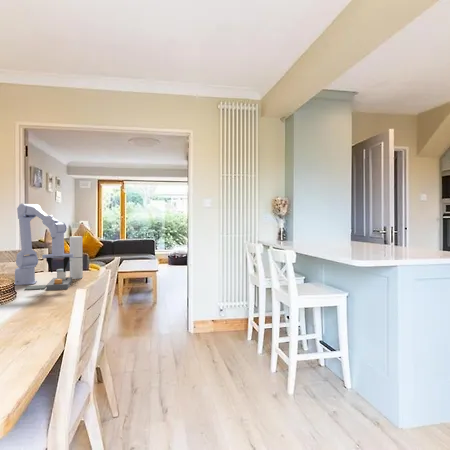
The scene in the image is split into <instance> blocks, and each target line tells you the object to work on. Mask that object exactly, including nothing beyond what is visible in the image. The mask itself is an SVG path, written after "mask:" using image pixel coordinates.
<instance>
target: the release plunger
mask: <svg viewBox="0 0 450 450" xmlns="http://www.w3.org/2000/svg"><path fill="white" fill-rule="evenodd" d="M54 284H62V279H55V280H54Z"/></svg>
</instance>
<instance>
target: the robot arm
mask: <svg viewBox="0 0 450 450" xmlns="http://www.w3.org/2000/svg"><path fill="white" fill-rule="evenodd" d="M16 210H17V211H16V213H17V219H18V223H19V224H18V225H19V236H20V249H21V250H20V251H19V252H17V253H16V259H15V264H16V266H17V268H15V269H14V286H21V285H22V286H23V285H26V286H27V285H35V284H36V283H37V282H38V281H37V280H36V274H35V273H36V269H35V268H36V267H37V265H38V263H39V258H38V254H37V252H36V251H35V250H34V249H33V243H32V228H31V221H32V220H34V219H35V218H36V217H37V218H38V219H40V220H41V221H42V224H43V225H44V226H45V227H47V228H48V231H49V233H50V237H51V253H50V254H49V253H47V254H44V253H43V254H42V255H41V256H42V257H41V258H42V259H43V260H44V259H46V260H45V261H46V263H47V266H48V267H49V269H50V270H49V271H50V273H53V272H54V269H53V268H54V265H53V261H54V260H53V259H63V269H64V272H65V271H67V265H68V263H69V262H70V258H73V254H70V253H65V233H66V232H67V229H68V228H67V224H66V223H65V222H63V221H62V222H60V221H59V220H58V219H56V218H55V217H54V215H53V214H51V215H50V214H47V213H46V212H45V211H43V209H42V206H41V205H39V204H38V203H35V204H34V203H20V204H19V205H18V206H17V207H16Z"/></svg>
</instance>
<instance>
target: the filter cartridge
mask: <svg viewBox="0 0 450 450" xmlns="http://www.w3.org/2000/svg"><path fill="white" fill-rule="evenodd" d="M66 271H67V270H66ZM66 271H65V272H64V268H58V269H56V278H57V279H62V280H66V277H67V273H66Z"/></svg>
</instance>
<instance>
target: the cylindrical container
mask: <svg viewBox="0 0 450 450" xmlns="http://www.w3.org/2000/svg"><path fill="white" fill-rule="evenodd" d="M69 254H73V258H70V259H69V277H72V280H79V279H83V277H84V276H83V274H84V273H83V270H84V269H83V265H84V263H83V260H84V259H83V256H84V255H83V235H82V236H81V235H79V236H78V235H77V236H74V235H73V236H69Z"/></svg>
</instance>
